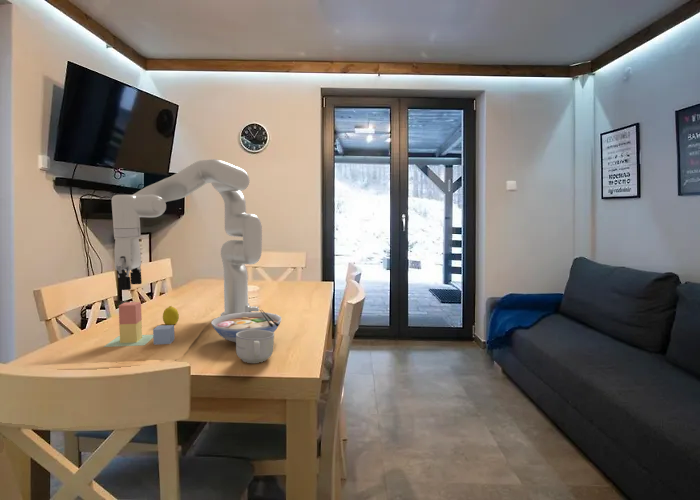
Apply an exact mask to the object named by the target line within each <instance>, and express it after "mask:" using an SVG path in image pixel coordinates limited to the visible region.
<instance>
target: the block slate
mask: <svg viewBox="0 0 700 500" xmlns="http://www.w3.org/2000/svg"><path fill="white" fill-rule="evenodd" d="M152 331H153V332H152V335H153V338H152V339H153V345H171V344H172V343H173V342H174V341H175V324H174V325H166V324H165V325H157V326H156V327H155V328H153V329H152Z"/></svg>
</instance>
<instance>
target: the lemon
mask: <svg viewBox="0 0 700 500" xmlns="http://www.w3.org/2000/svg"><path fill="white" fill-rule="evenodd" d="M179 317H180V314H179V310H178V309H177V308H175V307H174V306H172V305H169V306H168V307H166V308H165V309H164V311H163V313H162V321H163V323H164V324H165V325H174V326H175V325H176V324H177V323H178V321H179Z"/></svg>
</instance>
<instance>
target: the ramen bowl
mask: <svg viewBox="0 0 700 500" xmlns="http://www.w3.org/2000/svg"><path fill="white" fill-rule="evenodd" d="M281 322H282V316H280V315H278V314H276V313H271V312H265V311H264V310H263V309H260V308H259V311H251V312H242V313H234V314H228V315H224V316H221V315H220V316H218V317H215V318H213V319H212V320H211V322H210V323H211V326H212V328H213V329H214V330H215V331H216V333H217V334H218V335H220V336H221V337H222V338H223V339H225V340H226V341H230V342H233V343H236V333H238V332H240V331H245V330H267V331H271V332H273V333H274V334H275V331H276V330H277V329H278V327H279V326H280V324H281Z"/></svg>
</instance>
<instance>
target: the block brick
mask: <svg viewBox="0 0 700 500" xmlns="http://www.w3.org/2000/svg"><path fill="white" fill-rule="evenodd" d="M142 318H143V317H142V302H141V301H135V302H134V301H133V302H132V301H131V302H129V301H128V302H123V303H121V304H119V305H118V319H119V322H118V323H119V324H137V323H138V322H139V321H141V320H142ZM119 324H118V325H119Z"/></svg>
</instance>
